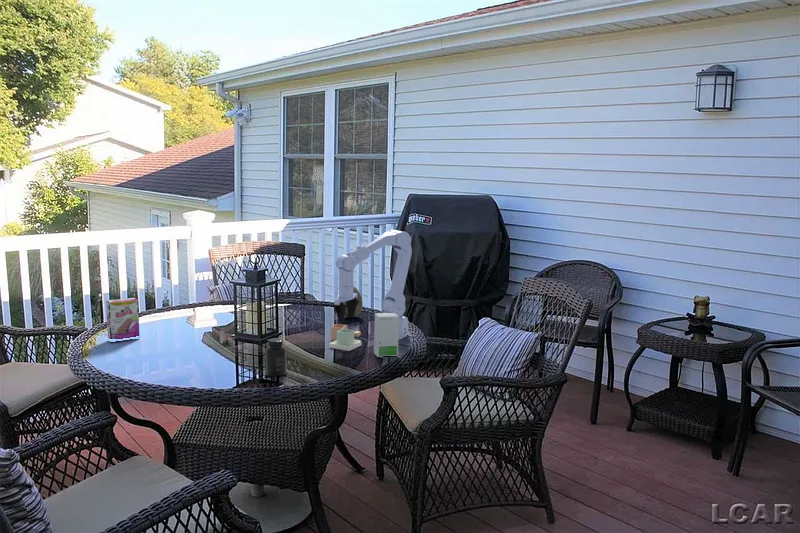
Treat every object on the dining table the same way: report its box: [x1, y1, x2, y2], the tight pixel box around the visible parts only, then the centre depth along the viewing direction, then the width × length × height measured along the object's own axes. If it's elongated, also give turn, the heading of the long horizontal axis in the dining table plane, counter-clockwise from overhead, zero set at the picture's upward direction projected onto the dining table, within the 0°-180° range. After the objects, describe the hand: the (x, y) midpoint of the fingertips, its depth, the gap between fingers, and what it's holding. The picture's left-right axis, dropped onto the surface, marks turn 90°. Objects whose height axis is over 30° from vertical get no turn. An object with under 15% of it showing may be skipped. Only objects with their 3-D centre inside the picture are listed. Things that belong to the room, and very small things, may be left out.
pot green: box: [337, 328, 355, 346], centre depth 255 cm, size 5×5×6 cm
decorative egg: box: [343, 285, 364, 319], centre depth 302 cm, size 11×11×15 cm
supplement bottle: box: [265, 337, 287, 377], centre depth 221 cm, size 7×7×12 cm
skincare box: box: [373, 312, 400, 358], centre depth 244 cm, size 8×7×16 cm
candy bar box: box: [105, 297, 140, 339], centre depth 259 cm, size 11×5×16 cm, turn 126°
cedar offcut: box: [354, 330, 362, 338], centre depth 272 cm, size 6×3×2 cm, turn 66°
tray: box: [329, 339, 362, 352], centre depth 256 cm, size 9×9×2 cm
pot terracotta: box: [330, 323, 348, 341], centre depth 266 cm, size 5×5×6 cm
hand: (346, 319), depth 259 cm, fingers open, 7 cm apart
